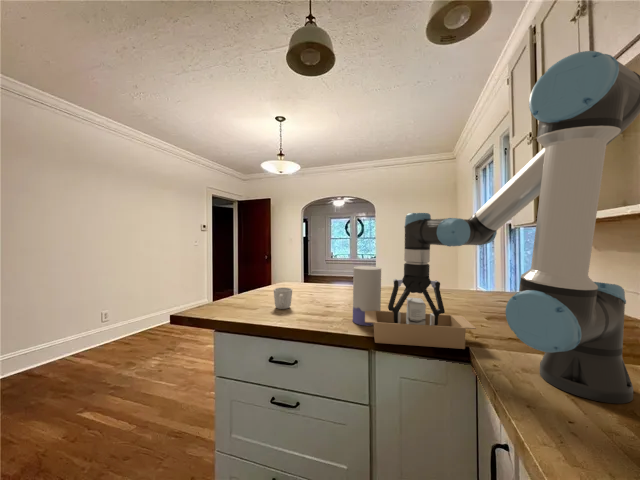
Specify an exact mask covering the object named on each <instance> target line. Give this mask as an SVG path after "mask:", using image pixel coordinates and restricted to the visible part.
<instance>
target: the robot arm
mask: <svg viewBox="0 0 640 480" xmlns="http://www.w3.org/2000/svg"><path fill="white" fill-rule="evenodd" d="M528 100H529V101H528V106H529V107H528V108H529V111H530V112H531V115H532V116H533V117H534V119H536V121H538V126H537V127H538V128H537V137H536V141H537V143H539V144H540V145H541V146H542V148H541V149H540V150H539V152H537V153H536V154H535V155H534V156H533V157H532V158H531V159H530V160H529V161H528V162H527V163H526V164H525V165H524V166H523V167H522V168H520V170H519V171H518V172H516V173H515V175H514V176H512V177H511V178H510V179H509V180H508V181H507V182H506V183H505V184H504V185H503V186H502V187H501V188H500V189H499V190H498V191H497V192H496V193H495V194H494V195H493V196H492V197H491V198H490V199H489V200H487V201H486V202H485V203H484V205H482V206H481V207H480V208H479V209H478V210H477V211H476V212H475V213H474V214H473V215H471V216H470V217H469V218H468V219H465V218H457V217H446V218H436V219H433V218H432V217H431V214H430V213H429V212H410V213H407V214H406V215H405V221H404V254H403V255H404V259H403V260H404V264H403V276H402V279H396V278H394V279H393V289H392V291H391V295H390V299H389V302H388V306H387V308H388V311H390V312H394V323H398V324H401V313H400V312H401V311H400V310H401V308H402V306H403V305H404V303H405V302H406V301H407V297H409V295H410V294H415V293H417V294H423V296H424V298H425V300H426V302H427V304H428V305H429V308H430V309H431V311H432V312H430V313H429V314H430V325H432V326H434V325H438V316H439V314H445V313H446V311H445V307H444V302H443V298H442V295H441V291H440V290H441V282H440V281H439V280H431V279H430V266H431V265H430V264H429V263H430V261H431V260H430V257H431V256H430V255H431V253H430V252H431V245H432V246H433V245H434V246H444V247H445V246H446V247H461V246H484V245H488V244H490V243H492V242H494V240H495V239H496V236H497V234H498V233H497V231H498V230H500V228H502V227H503V226H504V225H505V224H507V223H508V222H509V221H510V220H511V219H513V218H514V217H515V216H516V215H517V214H518V213H520V212H521V211H522V210H523V209H524V208H526V206H528V205H529V204H531V202H533V201H534V200H535V199H536V198H538V197H539V199H538V200H539V201H538V206H537V207H538V209H537V216H536V217H537V218H536V225H535V231H534V232H535V233H534V241H533V249H532V256H531V263H530V264H531V266H530V269H528V270H526V271H525V272H523V273H522V274H521V275H520V283H519V290H518V292H516V293H515V294H513V295H512V296H511V297H510V298H509V299H508V301H507V303H506V306H505V319H506V321H507V324H508V326H509V328H510V330H511V331H512V332H513V333H514V334H515V335H516V336H515V337H516V338H517V339H519V340H520V341H521V342H522V343H523V344H525V345H527V347H530V348H531V349H534V350H537V351H541V352H543V357H542V359H541V360H540V363H539V375H540V377H541V378H542V379H543V380H544V381H546V382H547V383H548V384H550V385H552V386H554V387H555V388H557V389H559V390H561V391H564V392H566V393H568V394H571V395H574V396H577V397H581V398H584V399H587V400H591V401H595V402H601V403H607V404H627V403H630V402H631V401H633V400H634V385H633V383H632V381H631V378H630V374H629V372H628V370H627V366H626V364H625V362H624V359H623V349H624V348H623V345H624V328H625V327H624V324H625V309H626V307H625V306H626V304H627V300H626V295H625V294H626V293H625V289H624V287H622V286H621V285H619V284H615V283H608V282H606V283H605V282H601V281H600V282H599V281H593V280H592V279H591V277H590V276H589V272H590V265H591V264H590V263H591V257H592V250H593V243H594V242H593V241H594V234H595V230H596V229H595V228H596V221H597V214H598V206H599V200H600V193H601V187H602V179H603V173H604V171H603V170H604V165H605V157H606V150H607V146H608V145H609V144H611V143H612V142H613V141H614V140H615V139H616V138H617V137H618V136H620V135H621V134H622V133H623V132H624V131H625V130H626V129H627V128H628V127H629V126H630V125H631V124H632V123H633V122H634V121H635V120H636V118H637V117H638V116H639V115H640V74H638V73H637V72H636V71H633V70H632V69H630V68H629V67H628V66H626V65H624V64H623V63H621V62H620V61H618V59H616V58H615V57H614V56H612V55H611V54H608V53H602V52H600V51H596V50H595V51H594V50H585V51H579V52H576V53H573V54H571V55H570V54H569V55H568V56H565V57H563V58H562V59H560V60H559V61H556V62H555V63H554V64H552V65H551V66H550V67H548V69H547V70H546V71H545V72H544V74H543V75H541V76H540V77H539V79H538V80H537V81H536V82H535V84H534V85H533V87H532V90H531V92H530V94H529V98H528ZM402 284H403V285H404V287H405V288H404V289H403V292H402V294H401V295H400V297H399V299H398V300H397V303H396V304H395V302H396V299H397V294H398V291H399V287H401V285H402ZM430 286H431V287H432V288H433V292H434V296H435V297H434V298H435V300H436V304H437V307H436V306H435V304H434V301H433V299H432V297H431V295H430V294H429V292H428V290H427V289H428V288H429V287H430Z"/></svg>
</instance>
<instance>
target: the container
mask: <svg viewBox="0 0 640 480" xmlns="http://www.w3.org/2000/svg"><path fill="white" fill-rule="evenodd" d="M352 268H353V275H352V276H353V278H352V279H353V281H352V283H353V284H352V288H353V289H352V322H353V323H354V324H356V325H360V326H365V327H368V326H370V327H374V323H365V311H382V310H381V304H382V301H381V299H382V296H381V295H382V268H381V267H379V266H371V265H357V266H354V267H352Z"/></svg>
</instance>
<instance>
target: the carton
mask: <svg viewBox="0 0 640 480" xmlns="http://www.w3.org/2000/svg"><path fill="white" fill-rule="evenodd" d="M399 312H400V313H401V324H398V323H394V312H392V311H389V310H387V311H386V310H380V311H365V323H374V325H373V337H374V343H376V344H386V345H387V344H388V345H389V344H390V345H402V346H403V345H405V346H417V347H418V346H419V347H428V348H429V347H433V348H443V349H444V348H445V349H448V348H449V349H460V350H461V349H462V350H465V349H466V329H467V330H476V329H477V327H475V325H473V324H472V323H471V322H470V321H469V320H467V319H466V318H465V317H464V316H463V315H453V314H445V313H444V314H439V316H438V325H434V326H432V325H430V313H426V315H425V325H415V324H406V312H407V311H399Z"/></svg>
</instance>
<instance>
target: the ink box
mask: <svg viewBox="0 0 640 480" xmlns="http://www.w3.org/2000/svg"><path fill="white" fill-rule="evenodd" d="M426 307H427V306H426V303H425V301H424V300H423V299H422V298H419V297H409V296H408V297H407V298H406V311H405V312H406V324H415V325H425V315H426V312H427V311H426V310H427V309H426Z"/></svg>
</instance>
